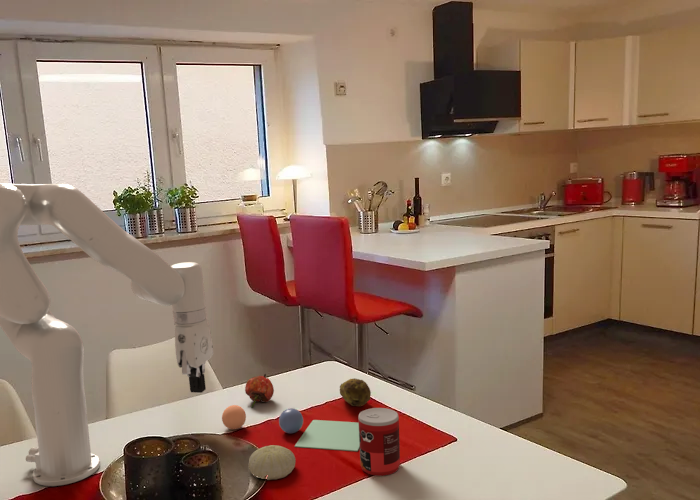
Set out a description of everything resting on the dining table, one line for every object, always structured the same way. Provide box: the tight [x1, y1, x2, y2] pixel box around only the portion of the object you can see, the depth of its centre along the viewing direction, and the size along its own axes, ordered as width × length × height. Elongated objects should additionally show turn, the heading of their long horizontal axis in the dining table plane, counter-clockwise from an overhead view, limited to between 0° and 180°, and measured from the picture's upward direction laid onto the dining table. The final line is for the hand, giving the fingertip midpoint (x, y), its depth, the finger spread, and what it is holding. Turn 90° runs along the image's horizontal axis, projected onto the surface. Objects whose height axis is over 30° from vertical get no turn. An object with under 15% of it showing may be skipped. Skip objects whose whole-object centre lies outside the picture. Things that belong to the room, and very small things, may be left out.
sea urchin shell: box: [247, 444, 296, 481], centre depth 126 cm, size 9×8×8 cm
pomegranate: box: [244, 373, 275, 409], centre depth 163 cm, size 7×7×10 cm
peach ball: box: [221, 404, 247, 430], centre depth 147 cm, size 6×6×6 cm
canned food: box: [358, 407, 401, 477], centre depth 126 cm, size 8×8×11 cm
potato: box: [339, 378, 372, 407], centre depth 158 cm, size 8×13×8 cm, turn 175°
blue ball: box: [278, 407, 304, 434], centre depth 144 cm, size 6×6×6 cm
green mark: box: [294, 419, 360, 452], centre depth 142 cm, size 14×14×1 cm
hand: (198, 391), depth 149 cm, fingers closed
